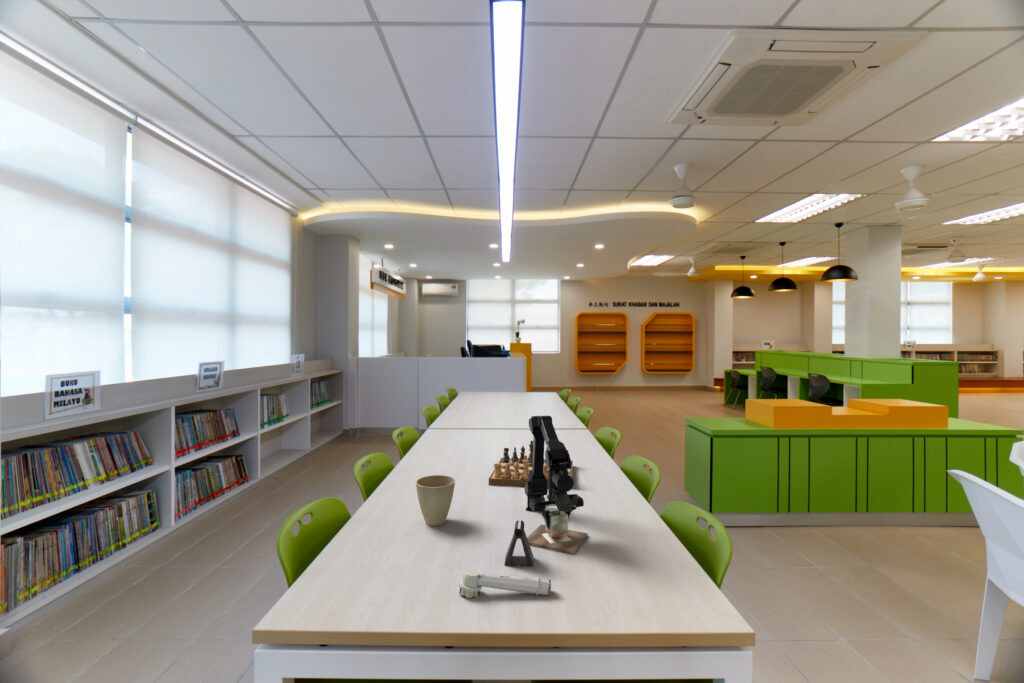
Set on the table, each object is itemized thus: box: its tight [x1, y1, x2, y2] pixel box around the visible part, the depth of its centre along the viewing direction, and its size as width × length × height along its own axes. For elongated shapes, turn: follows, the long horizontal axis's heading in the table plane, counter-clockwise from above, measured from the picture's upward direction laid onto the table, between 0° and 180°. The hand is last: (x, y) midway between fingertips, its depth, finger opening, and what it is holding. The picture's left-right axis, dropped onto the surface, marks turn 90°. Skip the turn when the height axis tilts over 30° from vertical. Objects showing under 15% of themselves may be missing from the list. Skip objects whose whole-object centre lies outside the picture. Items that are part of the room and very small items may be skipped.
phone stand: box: [504, 519, 535, 567], centre depth 146 cm, size 9×6×12 cm, turn 86°
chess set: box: [488, 439, 574, 488], centre depth 239 cm, size 40×40×15 cm
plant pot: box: [415, 474, 456, 527], centre depth 177 cm, size 15×15×16 cm
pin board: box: [527, 523, 589, 556], centre depth 162 cm, size 18×16×7 cm
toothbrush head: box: [458, 569, 552, 599], centre depth 128 cm, size 5×7×25 cm
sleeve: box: [544, 508, 569, 537], centre depth 162 cm, size 6×6×7 cm
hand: (556, 527), depth 162 cm, fingers closed on sleeve, 6 cm apart
